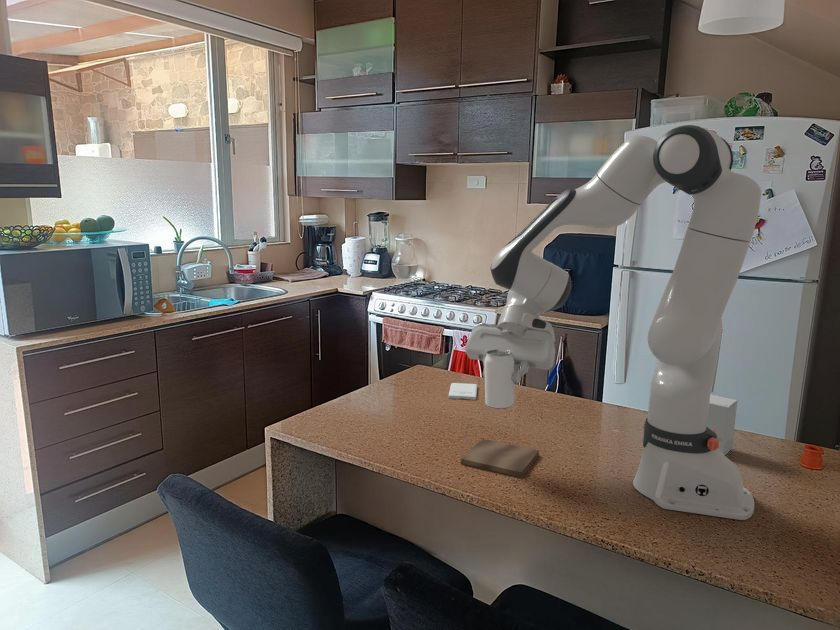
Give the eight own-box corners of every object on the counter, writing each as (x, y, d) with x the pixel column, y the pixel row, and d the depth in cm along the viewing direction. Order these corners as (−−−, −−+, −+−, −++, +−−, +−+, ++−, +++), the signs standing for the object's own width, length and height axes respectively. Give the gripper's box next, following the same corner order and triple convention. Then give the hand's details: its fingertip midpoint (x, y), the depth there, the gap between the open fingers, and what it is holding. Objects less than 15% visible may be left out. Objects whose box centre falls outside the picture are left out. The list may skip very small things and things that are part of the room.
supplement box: (732, 449, 146) (739, 399, 143) (722, 459, 140) (729, 407, 138) (700, 441, 151) (706, 392, 148) (690, 449, 145) (695, 399, 143)
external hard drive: (477, 389, 190) (476, 401, 178) (451, 387, 191) (448, 400, 179) (477, 384, 190) (476, 396, 178) (451, 382, 191) (448, 394, 179)
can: (519, 402, 136) (518, 350, 134) (507, 411, 131) (506, 357, 129) (493, 398, 140) (492, 347, 138) (480, 406, 134) (479, 354, 132)
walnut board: (538, 455, 140) (538, 450, 140) (521, 477, 129) (521, 472, 129) (482, 443, 147) (482, 438, 146) (460, 463, 135) (460, 458, 135)
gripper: (471, 314, 142) (453, 364, 136) (558, 324, 133) (543, 378, 126) (478, 329, 147) (460, 378, 140) (562, 340, 138) (547, 393, 131)
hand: (500, 378), depth 133 cm, fingers closed on can, 5 cm apart
